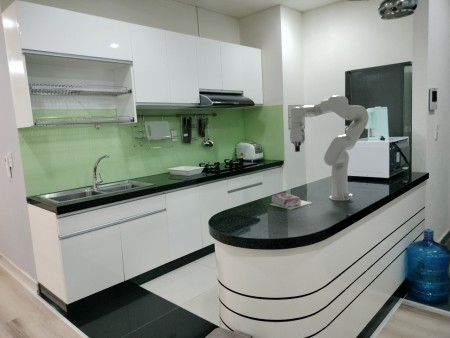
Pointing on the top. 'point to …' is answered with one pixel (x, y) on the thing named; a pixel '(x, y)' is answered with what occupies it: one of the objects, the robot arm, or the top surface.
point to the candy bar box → (286, 200)
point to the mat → (293, 206)
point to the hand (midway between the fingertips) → (297, 151)
